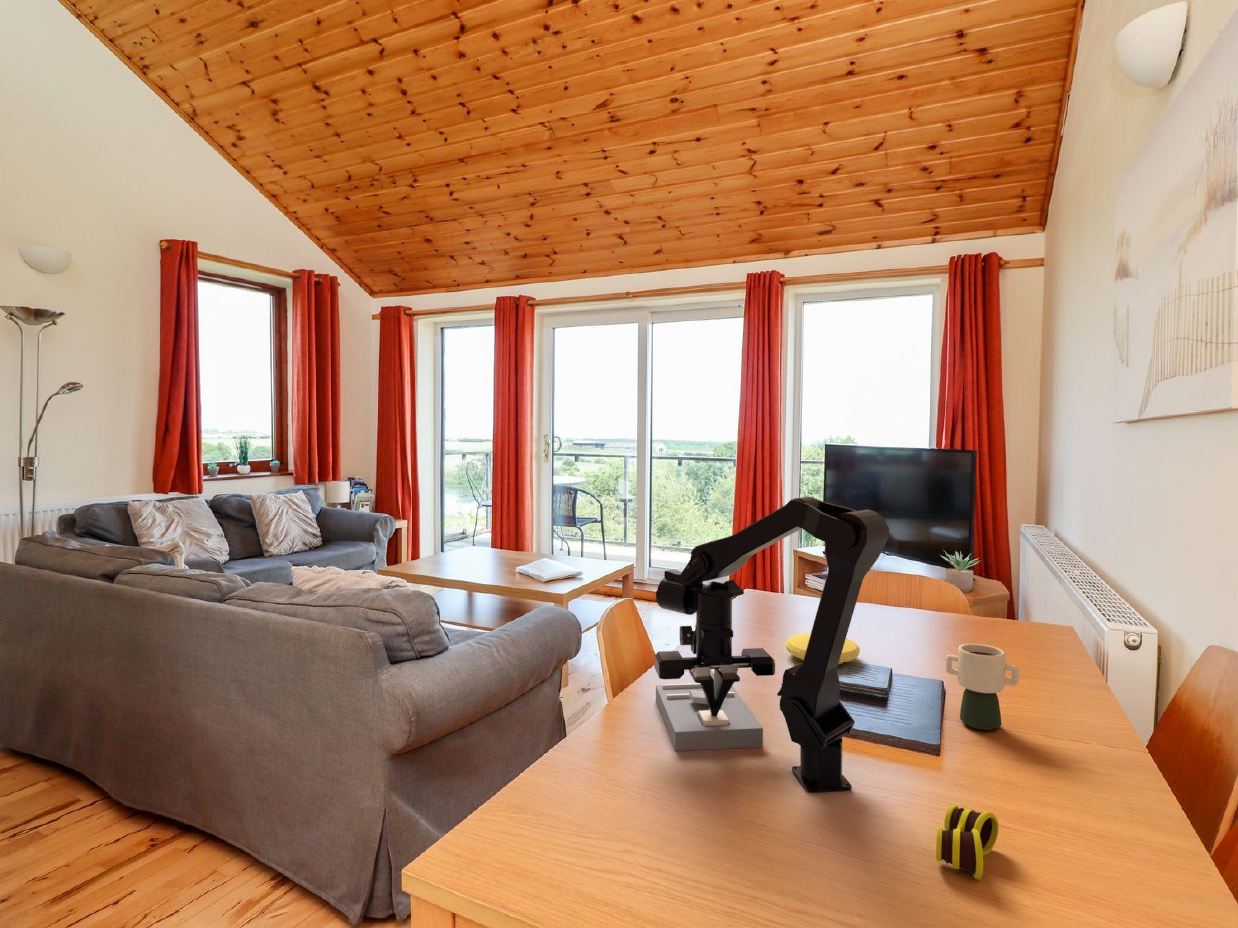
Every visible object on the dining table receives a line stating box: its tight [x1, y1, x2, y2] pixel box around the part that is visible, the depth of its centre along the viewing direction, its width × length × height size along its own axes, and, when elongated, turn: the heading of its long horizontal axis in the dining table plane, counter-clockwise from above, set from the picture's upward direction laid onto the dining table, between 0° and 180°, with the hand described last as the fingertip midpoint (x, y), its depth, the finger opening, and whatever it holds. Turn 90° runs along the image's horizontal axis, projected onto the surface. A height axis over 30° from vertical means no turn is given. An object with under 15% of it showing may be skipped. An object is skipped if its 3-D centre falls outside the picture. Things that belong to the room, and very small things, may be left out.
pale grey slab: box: [689, 690, 707, 704], centre depth 117 cm, size 3×5×1 cm
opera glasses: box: [935, 804, 1000, 880], centre depth 79 cm, size 10×5×5 cm, turn 142°
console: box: [655, 682, 764, 752], centre depth 116 cm, size 20×14×4 cm
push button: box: [699, 710, 729, 726], centre depth 110 cm, size 4×4×3 cm
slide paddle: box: [710, 669, 715, 684], centre depth 122 cm, size 4×2×4 cm, turn 6°
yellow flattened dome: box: [785, 632, 861, 665], centre depth 149 cm, size 16×16×7 cm
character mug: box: [945, 643, 1020, 730], centre depth 115 cm, size 11×7×13 cm, turn 54°
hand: (713, 715), depth 110 cm, fingers closed, pressing on push button
